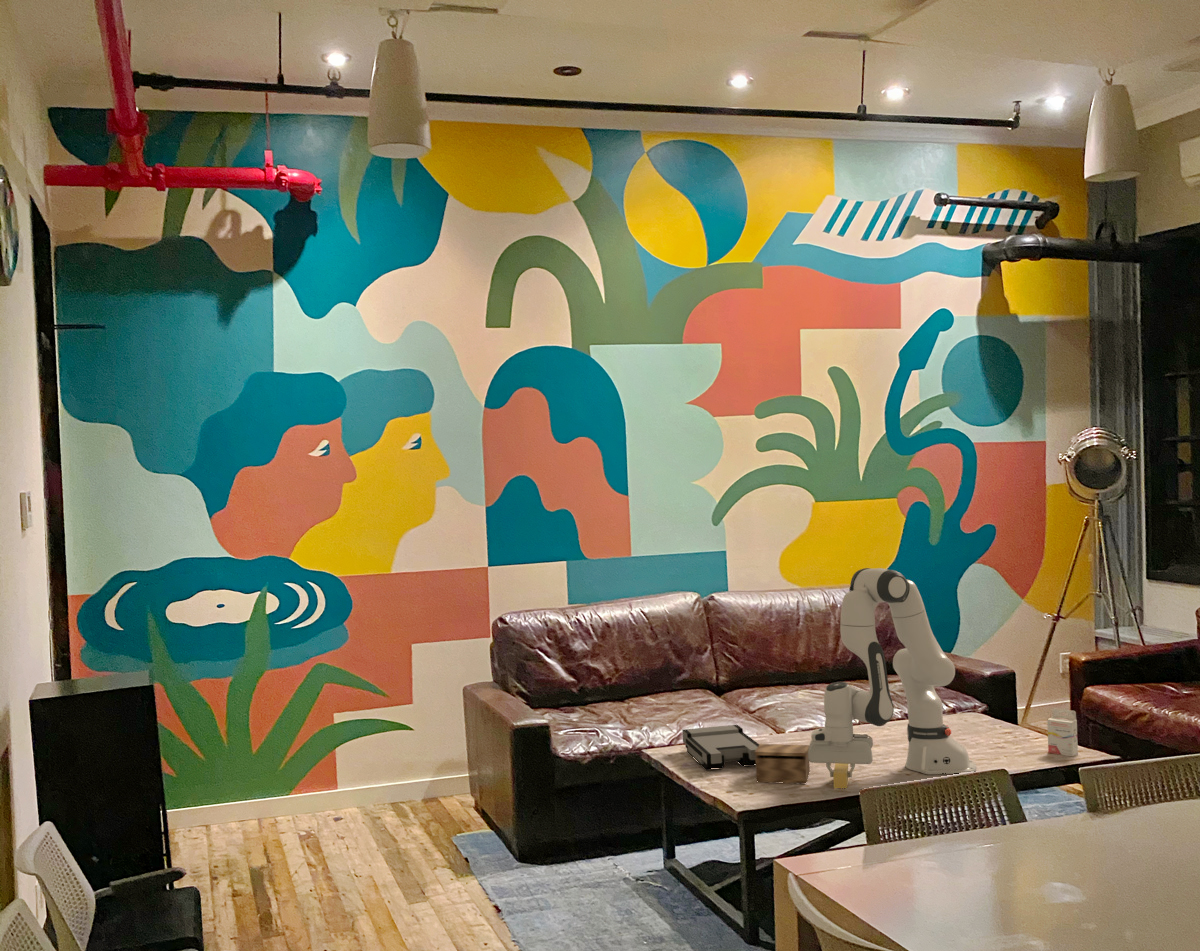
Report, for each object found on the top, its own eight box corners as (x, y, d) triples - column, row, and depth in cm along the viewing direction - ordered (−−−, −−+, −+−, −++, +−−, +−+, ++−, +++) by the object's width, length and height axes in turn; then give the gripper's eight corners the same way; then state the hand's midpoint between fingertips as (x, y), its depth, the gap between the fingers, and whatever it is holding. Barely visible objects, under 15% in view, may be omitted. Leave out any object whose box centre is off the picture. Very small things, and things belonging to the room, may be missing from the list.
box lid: (809, 748, 370) (809, 745, 370) (805, 756, 356) (805, 753, 356) (760, 747, 375) (760, 744, 375) (754, 755, 361) (754, 751, 361)
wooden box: (809, 772, 370) (808, 748, 370) (806, 784, 357) (805, 759, 357) (761, 770, 375) (760, 747, 375) (756, 782, 361) (755, 758, 361)
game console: (707, 775, 373) (706, 750, 373) (683, 752, 405) (682, 729, 405) (766, 769, 377) (765, 745, 377) (738, 746, 409) (737, 724, 409)
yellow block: (848, 778, 361) (848, 763, 361) (846, 789, 350) (846, 773, 350) (836, 778, 362) (835, 763, 362) (833, 788, 351) (833, 773, 351)
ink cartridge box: (1047, 753, 380) (1045, 710, 380) (1053, 750, 384) (1051, 707, 384) (1073, 756, 375) (1071, 713, 374) (1078, 753, 378) (1076, 710, 378)
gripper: (872, 732, 356) (874, 775, 356) (808, 730, 361) (810, 773, 362) (872, 736, 350) (874, 780, 350) (806, 735, 355) (808, 778, 355)
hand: (841, 776), depth 356 cm, fingers closed on yellow block, 4 cm apart
